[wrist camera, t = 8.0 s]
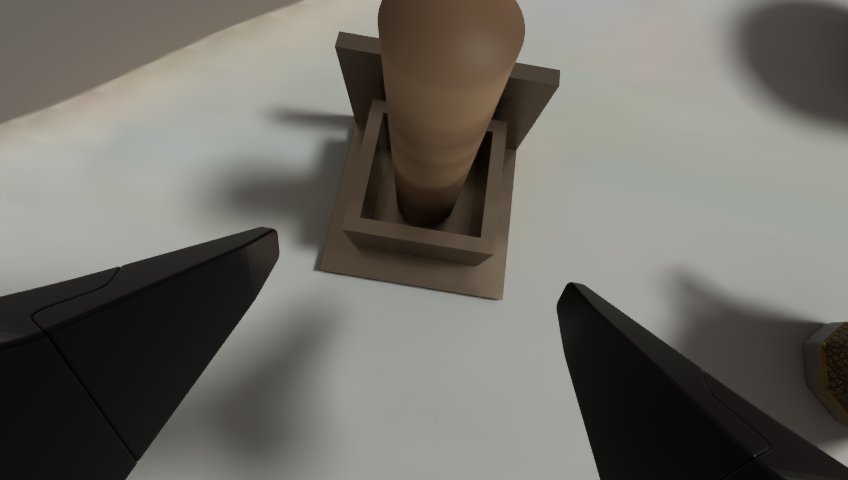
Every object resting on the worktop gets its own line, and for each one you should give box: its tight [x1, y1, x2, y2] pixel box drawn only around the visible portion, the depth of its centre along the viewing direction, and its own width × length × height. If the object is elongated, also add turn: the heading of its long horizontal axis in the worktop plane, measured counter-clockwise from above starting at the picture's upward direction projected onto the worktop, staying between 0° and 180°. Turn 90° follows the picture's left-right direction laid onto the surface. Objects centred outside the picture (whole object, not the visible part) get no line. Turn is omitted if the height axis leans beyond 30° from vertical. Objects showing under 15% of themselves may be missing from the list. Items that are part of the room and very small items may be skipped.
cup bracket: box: [320, 32, 560, 300], centre depth 18 cm, size 12×12×7 cm
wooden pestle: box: [378, 0, 525, 227], centre depth 14 cm, size 4×4×13 cm
